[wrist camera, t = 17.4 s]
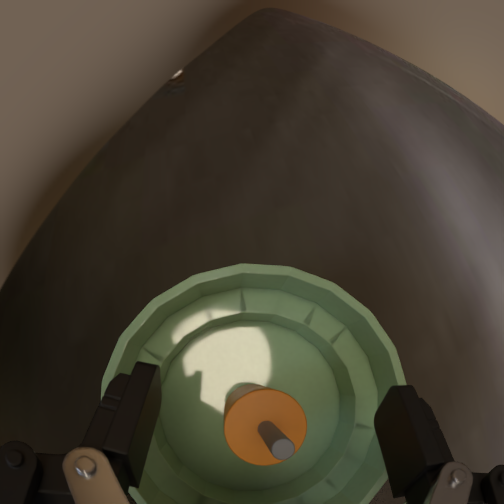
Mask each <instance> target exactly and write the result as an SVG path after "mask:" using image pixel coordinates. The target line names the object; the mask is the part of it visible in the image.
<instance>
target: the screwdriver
mask: <svg viewBox="0 0 504 504" xmlns="http://www.w3.org/2000/svg"><path fill="white" fill-rule="evenodd" d="M306 432H307V419H306V415H305V413H304V410H303V409H302V407H301V405H300V404H299V403H298V402H297V401H296V400H295V399H294V398H293V397H292V396H290V395H289V394H287V393H285V392H282V391H279V390H276V389H272V388H269V387H265V386H262V385H257V384H247V385H243V386H241V387H239V388H237V389H235V390H234V391H233V392H232V393H231V394H230V395H229V397H228V398H227V400H226V403H225V407H224V435H225V439H226V442H227V444H228V446H229V448H230V449H231V450H232V452H233V453H234V454H235V455H236V456H238V457H239V458H240V459H242V460H244V461H245V462H248V463H250V464H254V465H260V466H268V465H274V464H278V463H281V462H283V461H285V460H287V459H289V458H290V457H292V456H293V455H294V454H295V453H296V452H297V451H298V450H299V448H300V447H301V445H302V444H303V442H304V439H305V437H306Z"/></svg>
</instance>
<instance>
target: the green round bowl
mask: <svg viewBox="0 0 504 504" xmlns="http://www.w3.org/2000/svg"><path fill="white" fill-rule="evenodd" d="M137 361H141V362H146V363H151V364H156V365H159V366H160V376H161V391H162V400H161V407H160V412H159V415H158V419H157V422H156V426H155V429H154V433H153V437H152V440H151V444H150V447H149V451H148V455H147V459H146V462H145V466H144V470H143V474H142V478H141V481H140V485H139V488H135V487H131V486H129V490H128V492H129V494H130V495H131V496H132V498H133V499H134V500H135V501H136V503H137V504H368V503H369V502H370V501H371V500H372V499H373V497H374V496H375V495H376V493H377V492H378V491H379V490H380V488H381V487H382V486H383V484H384V483H385V482H386V480H387V479H388V475H387V471H386V467H385V463H384V460H383V456H382V453H381V449H380V446H379V442H378V439H377V435H376V432H375V428H374V416H375V413H376V411H377V409H378V407H379V405H380V404H381V402H382V400H383V399H384V397H385V395H386V393H387V392H388V390H389V388H390V387H391V386H393V385H406V381H405V377H404V374H403V370H402V367H401V364H400V360H399V357H398V353H397V350H396V348H395V346H394V344H393V343H392V341H391V340H390V338H389V337H388V335H387V334H386V332H385V331H384V330H383V328H382V327H381V325H380V324H379V322H378V321H377V319H376V318H375V317H374V315H373V314H372V312H371V311H370V310H369V309H367V308H366V307H365V306H364V305H362V304H361V303H360V302H359V301H357V300H356V299H355V298H353V297H352V296H351V295H349V294H348V293H347V292H346V291H344V290H343V289H342V288H340V287H339V286H338V285H337V284H335V283H333V282H331V281H328V280H325V279H323V278H320V277H317V276H315V275H312V274H309V273H307V272H304V271H301V270H299V269H296V268H293V267H290V266H276V265H260V264H244V263H243V264H237V265H233V266H229V267H225V268H220V269H216V270H212V271H208V272H203V273H199V274H195V275H193V276H191V277H189V278H188V279H186V280H184V281H183V282H181V283H179V284H178V285H176V286H174V287H172V288H171V289H169V290H167V291H166V292H164V293H162V294H161V295H159V296H157V297H156V298H154V299H153V300H151V301H150V302H149V304H148V305H147V306H146V307H145V308H144V309H143V310H142V311H141V313H140V314H139V315H138V316H137V317H136V318H135V319H134V321H133V322H132V323H131V324H130V325H129V326H128V327H127V329H126V330H125V331H124V332H123V333H122V334H121V336H120V337H119V340H118V342H117V344H116V347H115V349H114V351H113V354H112V356H111V359H110V361H109V364H108V366H107V369H106V371H105V374H104V376H103V379H102V388H101V399H102V397H103V396H104V393H105V390H106V388H107V386H108V384H109V382H110V381H111V380H112V379H113V378H115V377H116V376H117V375H118V374H119V373H124V374H128V375H131V372H132V370H133V368H134V365H135V363H136V362H137ZM247 384H257V385H262V386H265V387H269V388H272V389H276V390H279V391H282V392H285V393H287V394H289V395H290V396H292V397H293V398H294V399H295V400H296V401H297V402H298V403H299V404H300V405H301V407H302V409H303V410H304V413H305V415H306V419H307V432H306V437H305V439H304V442H303V444H302V445H301V447H300V448H299V450H298V451H297V452H296V453H295V454H294V455H293V456H292V457H290V458H289V459H287V460H285V461H283V462H281V463H278V464H274V465H268V466H260V465H254V464H250V463H248V462H245V461H244V460H242V459H240V458H239V457H238V456H236V455H235V454H234V453H233V452H232V450H231V449H230V448H229V446H228V444H227V442H226V439H225V435H224V407H225V403H226V400H227V398H228V397H229V395H230V394H231V393H232V392H233V391H234V390H235V389H237V388H239V387H241V386H243V385H247Z"/></svg>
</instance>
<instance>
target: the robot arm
mask: <svg viewBox="0 0 504 504" xmlns="http://www.w3.org/2000/svg"><path fill="white" fill-rule="evenodd" d="M161 400H162V391H161V376H160V366H159V365H156V364H151V363H146V362H141V361H137V362H136V363H135V365H134V368H133V370H132V372H131V375H128V374H124V373H119V374H118V375H117V376H116V377H115V378H113V379H112V380H111V381H110V382H109V384H108V386H107V388H106V390H105V393H104V396H103V397H102V399H101V401H100V403H99V406H98V408H97V410H96V412H95V414H94V417H93V419H92V421H91V423H90V426H89V428H88V430H87V433H86V435H85V437H84V440H83V441H82V443H81V444H80V446H79V447H78V448H75V449H73V450H71V451H70V452H69V453H67V454H44V453H35V452H34V451H33V449H32V448H31V447H30V446H29V445H27V444H26V443H24V442H20V441H10V442H7V443H5V444H4V445H3V446H1V447H0V504H130V503H129V501H128V499H127V494H128V490H129V486H131V487H135V488H139V485H140V481H141V478H142V474H143V470H144V466H145V462H146V459H147V455H148V451H149V447H150V444H151V440H152V437H153V433H154V429H155V426H156V422H157V419H158V415H159V412H160V407H161ZM435 419H436V418H435V415H434V413H433V411H432V409H431V407H430V406H429V405H428V404H427V403H426V402H425V401H424V400H423V399H422V398H418V395H417V393H416V391H415V389H414V387H413V386H412V385H393V386H391V387H390V388H389V390H388V392H387V393H386V395H385V397H384V399H383V400H382V402H381V404H380V405H379V407H378V409H377V411H376V413H375V416H374V428H375V432H376V435H377V439H378V442H379V446H380V449H381V453H382V456H383V460H384V463H385V467H386V471H387V475H388V478H389V482H390V486H391V490H392V494H393V498H398V497H403V496H405V498H406V501H405V502H404V504H504V465H498V466H496V467H494V468H493V469H492V470H491V471H490V472H489V473H472V472H471V471H470V469H469V468H468V467H467V466H466V465H464V464H463V463H460V462H456V461H454V459H453V457H452V454H451V452H450V450H449V447H448V445H447V443H446V440H445V438H444V436H443V433H442V431H441V429H439V424H438V422H437V420H435Z"/></svg>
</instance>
